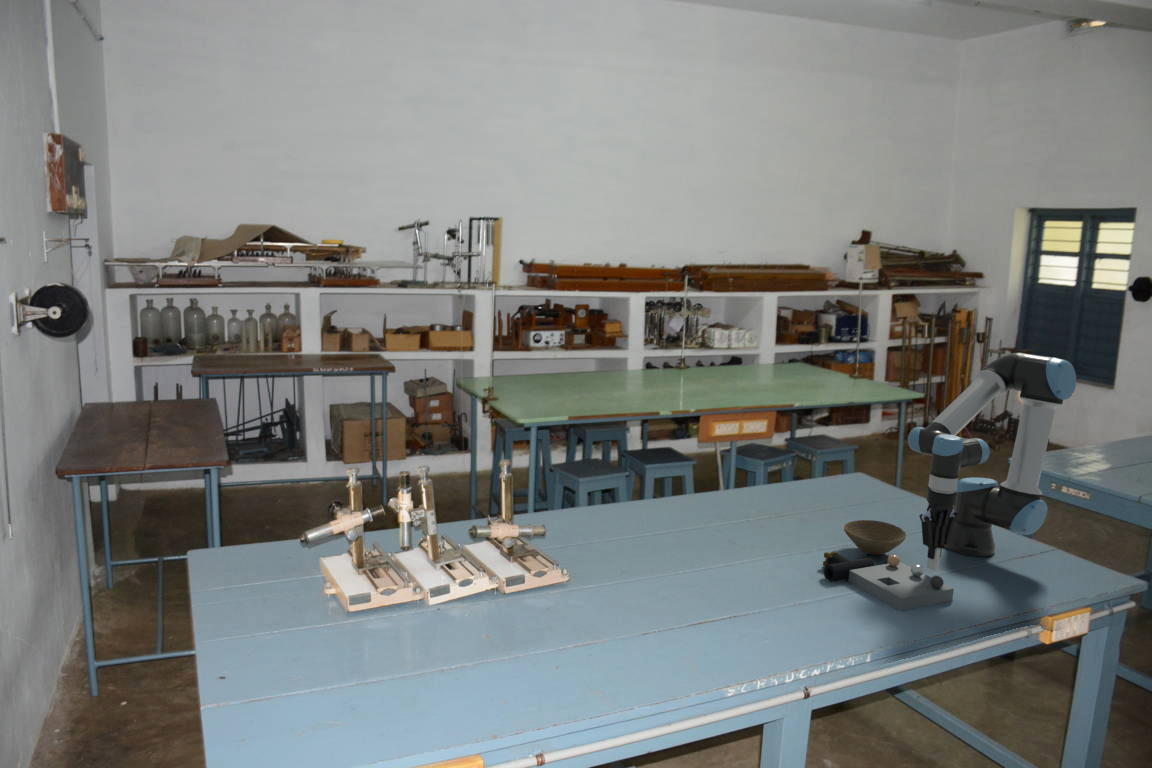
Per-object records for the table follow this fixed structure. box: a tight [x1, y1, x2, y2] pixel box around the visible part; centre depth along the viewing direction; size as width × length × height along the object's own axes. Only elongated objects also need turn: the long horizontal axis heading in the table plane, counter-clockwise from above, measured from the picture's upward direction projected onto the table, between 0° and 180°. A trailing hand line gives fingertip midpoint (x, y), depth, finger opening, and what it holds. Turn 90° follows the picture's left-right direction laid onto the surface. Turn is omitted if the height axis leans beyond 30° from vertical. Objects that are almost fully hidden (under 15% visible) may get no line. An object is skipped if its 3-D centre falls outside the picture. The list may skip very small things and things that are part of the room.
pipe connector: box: [822, 550, 876, 583], centre depth 252 cm, size 12×5×15 cm
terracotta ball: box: [887, 554, 901, 567], centre depth 250 cm, size 3×3×3 cm
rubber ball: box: [930, 575, 945, 589], centre depth 236 cm, size 3×3×3 cm
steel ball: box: [911, 564, 925, 577], centre depth 243 cm, size 3×3×3 cm
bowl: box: [843, 519, 907, 556], centre depth 269 cm, size 18×18×8 cm
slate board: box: [847, 561, 955, 612], centre depth 241 cm, size 19×20×4 cm
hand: (932, 568), depth 246 cm, fingers closed
